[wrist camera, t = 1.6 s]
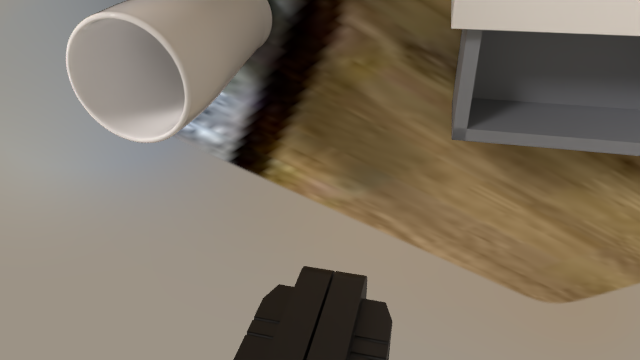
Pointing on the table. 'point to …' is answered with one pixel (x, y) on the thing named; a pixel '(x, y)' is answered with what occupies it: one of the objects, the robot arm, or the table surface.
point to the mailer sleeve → (549, 16)
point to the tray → (548, 90)
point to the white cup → (161, 60)
